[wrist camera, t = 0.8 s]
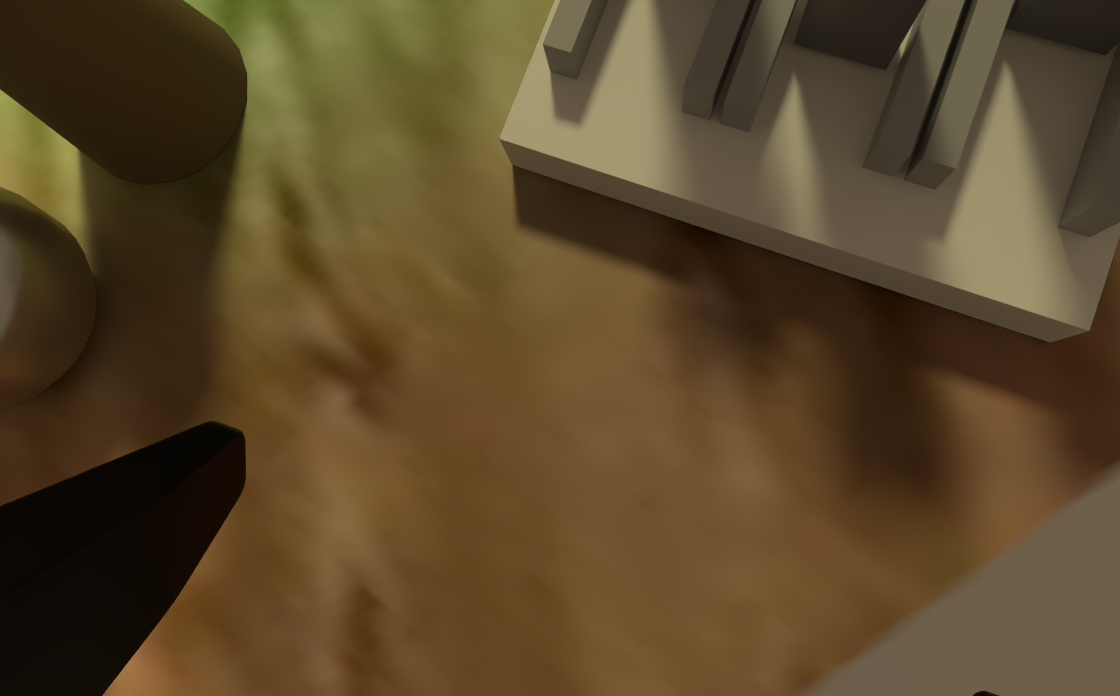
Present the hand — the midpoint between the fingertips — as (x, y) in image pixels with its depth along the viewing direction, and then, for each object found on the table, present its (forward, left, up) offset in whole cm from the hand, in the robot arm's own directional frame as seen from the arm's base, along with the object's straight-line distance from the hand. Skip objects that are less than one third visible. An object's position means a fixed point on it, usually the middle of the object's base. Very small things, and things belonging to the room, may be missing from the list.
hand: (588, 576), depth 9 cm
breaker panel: (+13, -1, -13) cm, 18 cm away
